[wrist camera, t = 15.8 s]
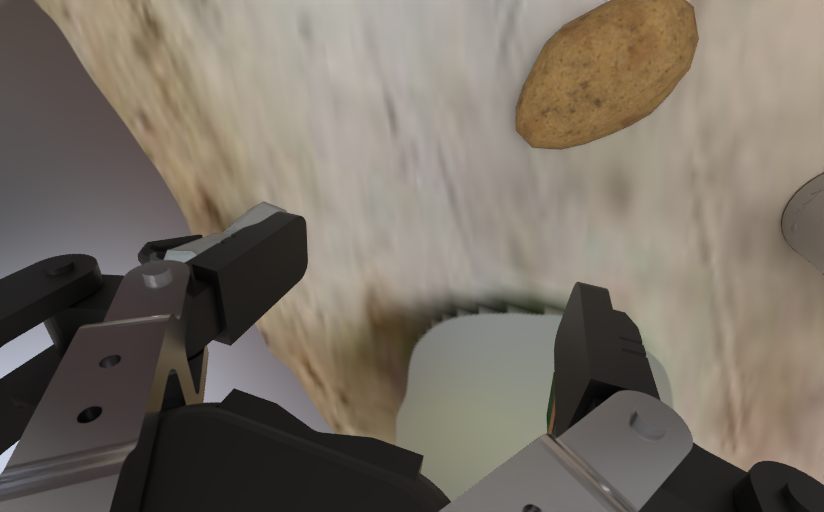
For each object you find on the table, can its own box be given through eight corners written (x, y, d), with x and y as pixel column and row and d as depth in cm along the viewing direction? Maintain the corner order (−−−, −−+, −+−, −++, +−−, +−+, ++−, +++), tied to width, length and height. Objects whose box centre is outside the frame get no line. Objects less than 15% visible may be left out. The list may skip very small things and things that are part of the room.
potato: (493, 85, 38) (481, 94, 31) (641, -40, 31) (667, -64, 24) (550, 165, 40) (550, 190, 33) (702, 65, 32) (742, 70, 26)
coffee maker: (316, 220, 51) (219, 293, 36) (309, 272, 56) (221, 357, 41) (219, 181, 53) (89, 235, 38) (220, 235, 58) (104, 303, 43)
